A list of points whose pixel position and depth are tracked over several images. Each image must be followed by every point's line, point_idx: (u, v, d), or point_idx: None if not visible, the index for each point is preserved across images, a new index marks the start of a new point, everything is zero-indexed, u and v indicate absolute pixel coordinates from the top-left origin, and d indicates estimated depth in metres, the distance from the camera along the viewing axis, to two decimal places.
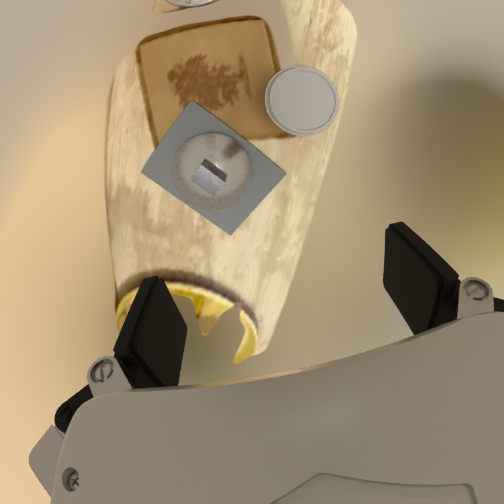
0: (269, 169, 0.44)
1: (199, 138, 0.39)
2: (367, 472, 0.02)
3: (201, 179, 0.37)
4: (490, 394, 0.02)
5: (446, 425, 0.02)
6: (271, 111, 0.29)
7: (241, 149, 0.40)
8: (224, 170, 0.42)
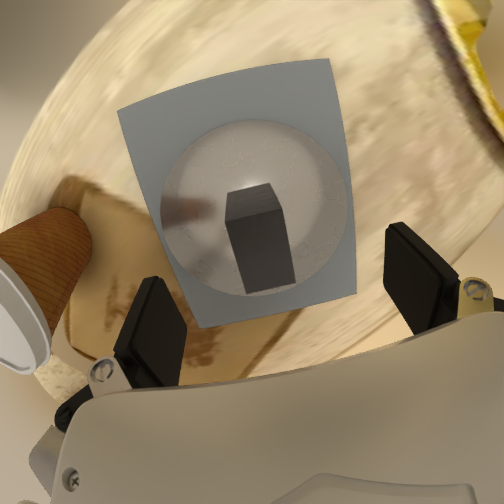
0: (143, 138, 0.16)
1: (226, 287, 0.21)
2: (367, 471, 0.02)
3: (271, 266, 0.14)
4: (490, 394, 0.02)
5: (446, 425, 0.02)
6: (35, 345, 0.10)
7: (164, 221, 0.18)
8: (225, 203, 0.17)
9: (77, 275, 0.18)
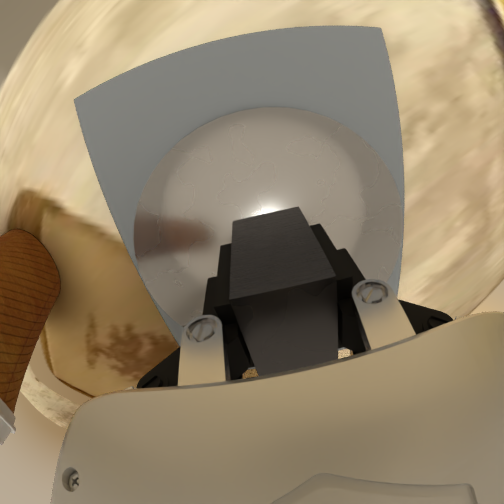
0: (108, 136, 0.10)
1: None
2: (367, 471, 0.02)
3: (305, 355, 0.08)
4: (490, 394, 0.02)
5: (446, 425, 0.02)
6: None
7: (141, 260, 0.12)
8: (230, 237, 0.12)
9: (40, 321, 0.12)
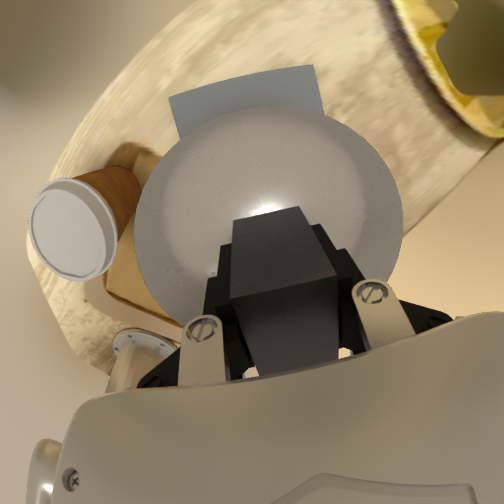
0: (187, 116, 0.24)
1: None
2: (367, 471, 0.02)
3: (306, 354, 0.08)
4: (490, 394, 0.02)
5: (446, 425, 0.02)
6: (108, 245, 0.19)
7: (142, 259, 0.12)
8: (230, 236, 0.12)
9: (131, 212, 0.26)
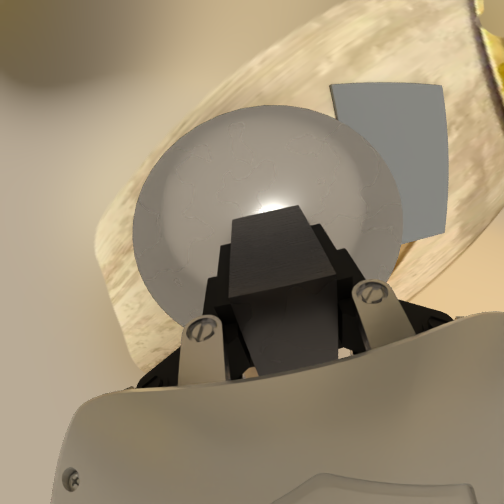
0: (348, 108, 0.23)
1: None
2: (367, 471, 0.02)
3: (305, 354, 0.08)
4: (490, 394, 0.02)
5: (446, 425, 0.02)
6: None
7: (141, 258, 0.12)
8: (230, 235, 0.12)
9: None
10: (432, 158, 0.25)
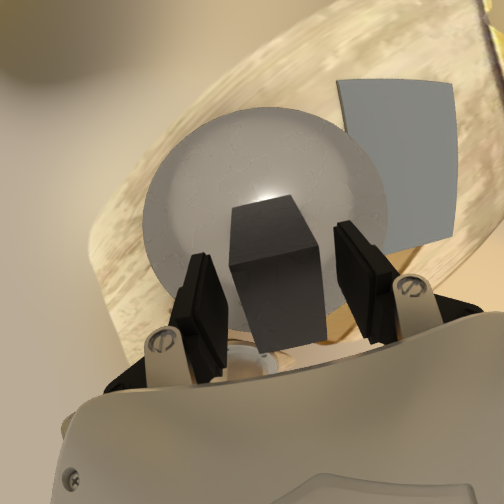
0: (356, 105, 0.21)
1: (231, 323, 0.16)
2: (366, 471, 0.02)
3: (296, 322, 0.10)
4: (490, 394, 0.02)
5: (446, 425, 0.02)
6: None
7: (149, 244, 0.13)
8: (230, 222, 0.13)
9: None
10: (441, 159, 0.24)
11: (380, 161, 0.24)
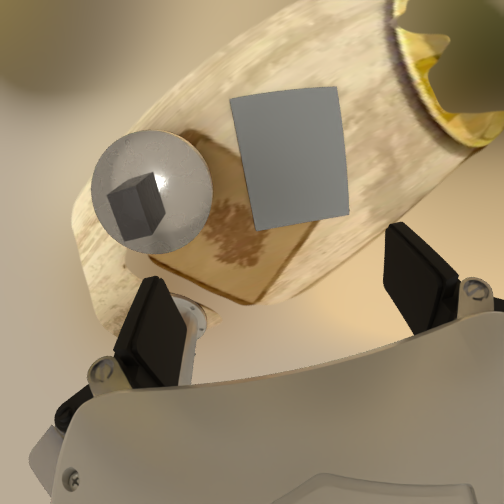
0: (243, 115, 0.33)
1: (133, 246, 0.27)
2: (367, 472, 0.02)
3: (135, 222, 0.21)
4: (490, 394, 0.02)
5: (446, 425, 0.02)
6: None
7: (94, 198, 0.24)
8: None
9: None
10: (325, 149, 0.36)
11: (264, 153, 0.36)
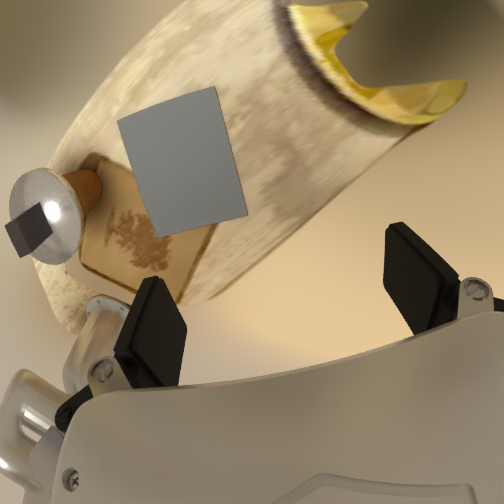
0: (129, 133, 0.34)
1: (41, 258, 0.28)
2: (367, 472, 0.02)
3: (21, 244, 0.22)
4: (490, 394, 0.02)
5: (446, 425, 0.02)
6: None
7: None
8: None
9: (93, 201, 0.35)
10: (209, 152, 0.36)
11: (152, 165, 0.36)
